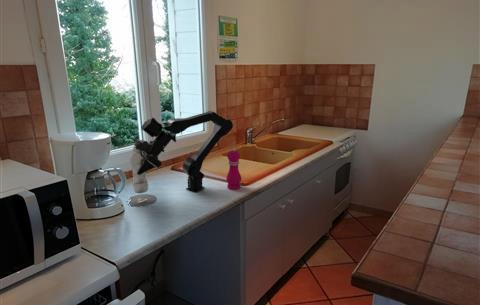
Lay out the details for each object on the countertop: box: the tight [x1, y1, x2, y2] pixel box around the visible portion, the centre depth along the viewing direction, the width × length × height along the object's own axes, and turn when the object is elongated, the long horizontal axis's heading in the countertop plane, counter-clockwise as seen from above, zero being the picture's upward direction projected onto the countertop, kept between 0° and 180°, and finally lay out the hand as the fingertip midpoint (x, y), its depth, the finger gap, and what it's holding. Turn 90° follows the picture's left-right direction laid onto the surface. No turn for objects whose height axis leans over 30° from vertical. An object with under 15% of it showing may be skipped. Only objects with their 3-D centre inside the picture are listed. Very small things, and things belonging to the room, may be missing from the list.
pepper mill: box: [225, 147, 242, 191], centre depth 152 cm, size 7×7×20 cm
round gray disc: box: [127, 193, 158, 208], centre depth 140 cm, size 13×13×1 cm
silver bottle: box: [129, 146, 149, 194], centre depth 136 cm, size 6×7×20 cm
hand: (136, 172), depth 135 cm, fingers closed on silver bottle, 6 cm apart
